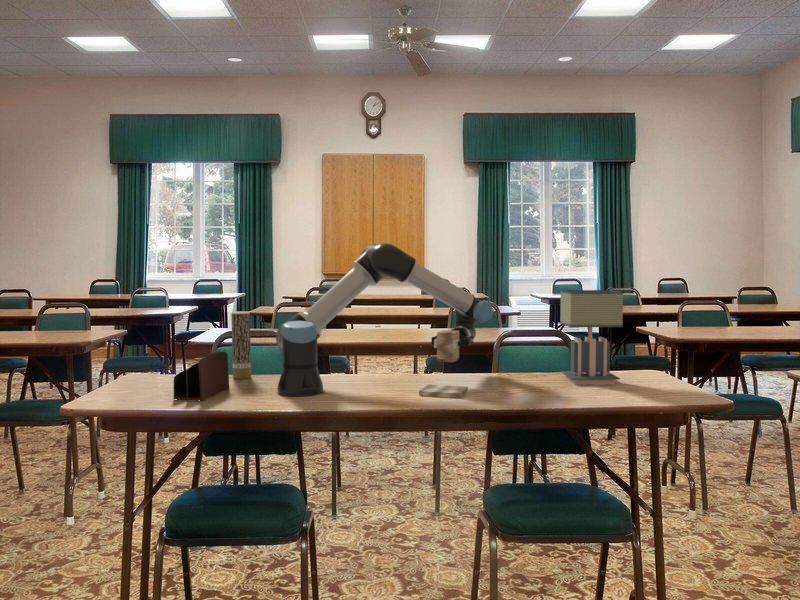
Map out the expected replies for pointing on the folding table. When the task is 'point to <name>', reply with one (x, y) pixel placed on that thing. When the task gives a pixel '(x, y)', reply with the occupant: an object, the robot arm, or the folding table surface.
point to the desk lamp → (591, 312)
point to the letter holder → (203, 378)
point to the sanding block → (447, 346)
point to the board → (443, 391)
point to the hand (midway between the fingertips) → (444, 344)
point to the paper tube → (241, 344)
